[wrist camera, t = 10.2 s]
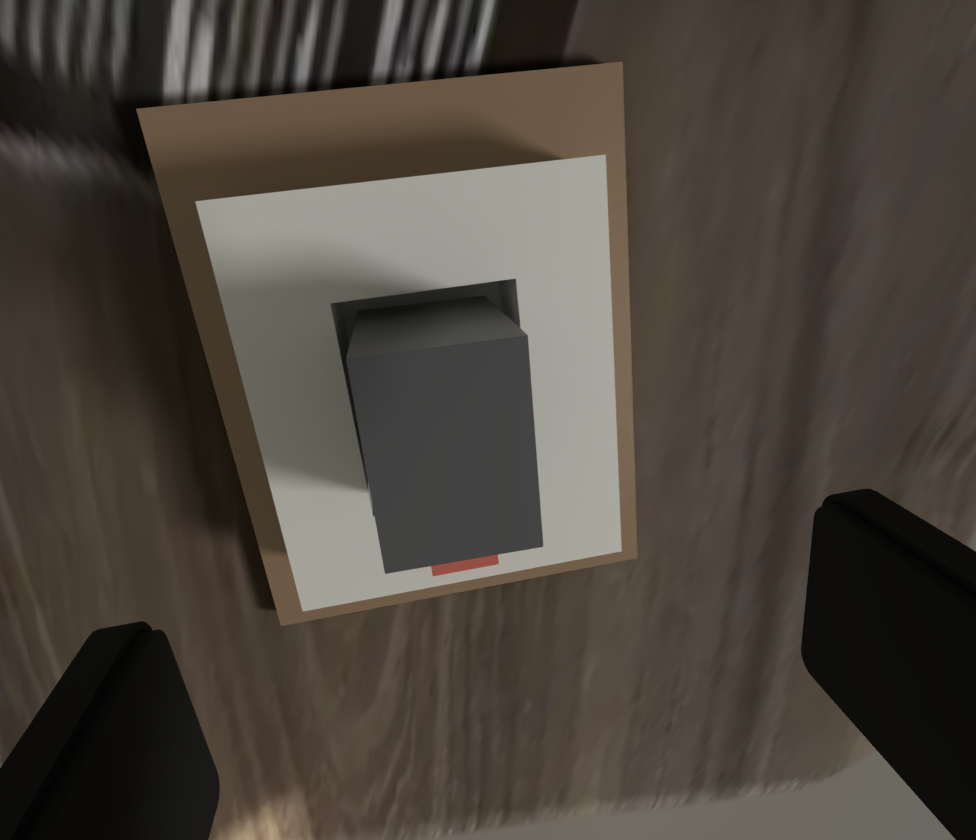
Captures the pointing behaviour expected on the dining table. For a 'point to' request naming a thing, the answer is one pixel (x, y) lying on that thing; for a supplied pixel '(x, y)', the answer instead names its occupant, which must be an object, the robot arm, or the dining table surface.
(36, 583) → the dining table surface
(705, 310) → the dining table surface
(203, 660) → the dining table surface
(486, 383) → the plug
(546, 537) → the socket
